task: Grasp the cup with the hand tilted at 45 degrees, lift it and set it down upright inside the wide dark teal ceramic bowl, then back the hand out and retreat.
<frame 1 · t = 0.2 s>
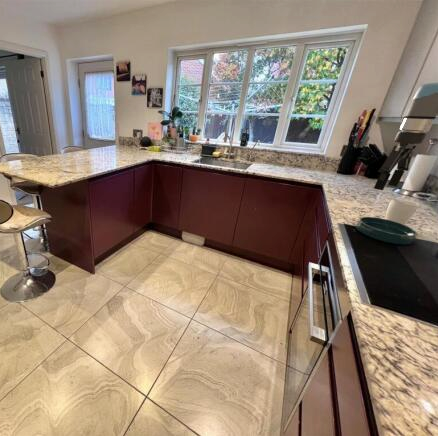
hand: (385, 187, 94), 21 cm above the worktop, tool pointing down, fingers open, 13 cm apart
bowl: (381, 234, 101), on the worktop
cup: (392, 225, 111), on the worktop
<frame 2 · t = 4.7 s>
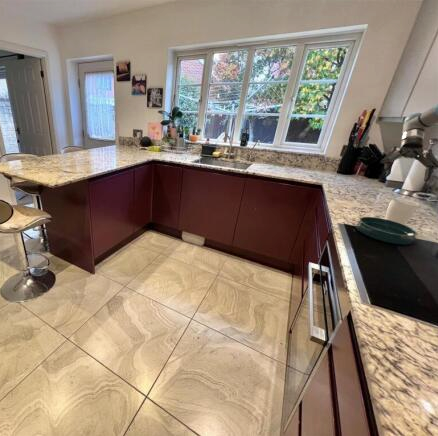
hand: (407, 177, 110), 21 cm above the worktop, tool tilted 45°, fingers open, 13 cm apart
nothing on the worktop moved.
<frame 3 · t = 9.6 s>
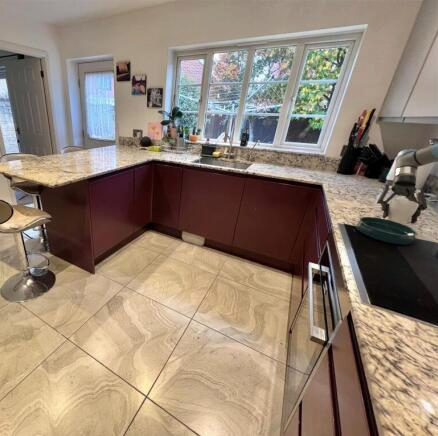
hand: (399, 219, 106), 4 cm above the worktop, tool tilted 45°, fingers closed on cup, 9 cm apart
cup: (392, 225, 111), on the worktop, touching gripper
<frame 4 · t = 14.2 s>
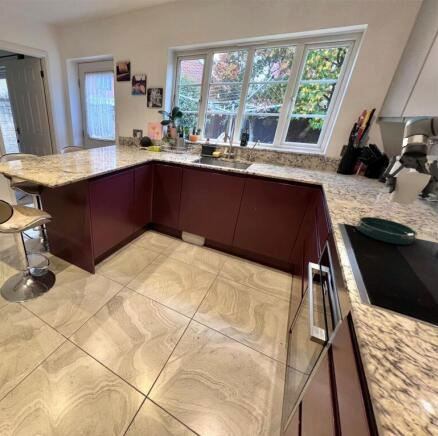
hand: (408, 194, 93), 19 cm above the worktop, tool tilted 45°, fingers closed on cup, 9 cm apart
cup: (399, 202, 97), point 14 cm above the worktop, touching gripper
when the fingers open (5 cm above the worktop, at t = 19.0 s): cup stays where it is, resting on bowl.
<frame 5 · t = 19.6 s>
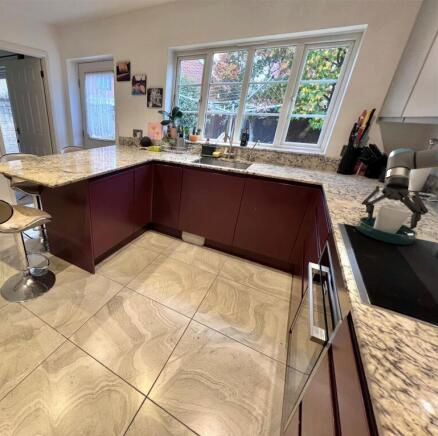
hand: (390, 223, 96), 6 cm above the worktop, tool tilted 45°, fingers open, 13 cm apart
cup: (382, 233, 101), resting on bowl
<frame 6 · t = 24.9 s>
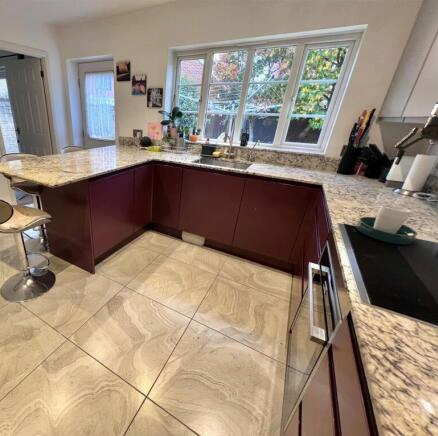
hand: (416, 166, 106), 27 cm above the worktop, tool pointing down, fingers open, 13 cm apart
nothing on the worktop moved.
at the end: cup inside the target area in the bowl (0.1 cm from its centre), point 0.4 cm above the bowl's base; cup tilted 0°; the gripper is holding nothing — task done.
